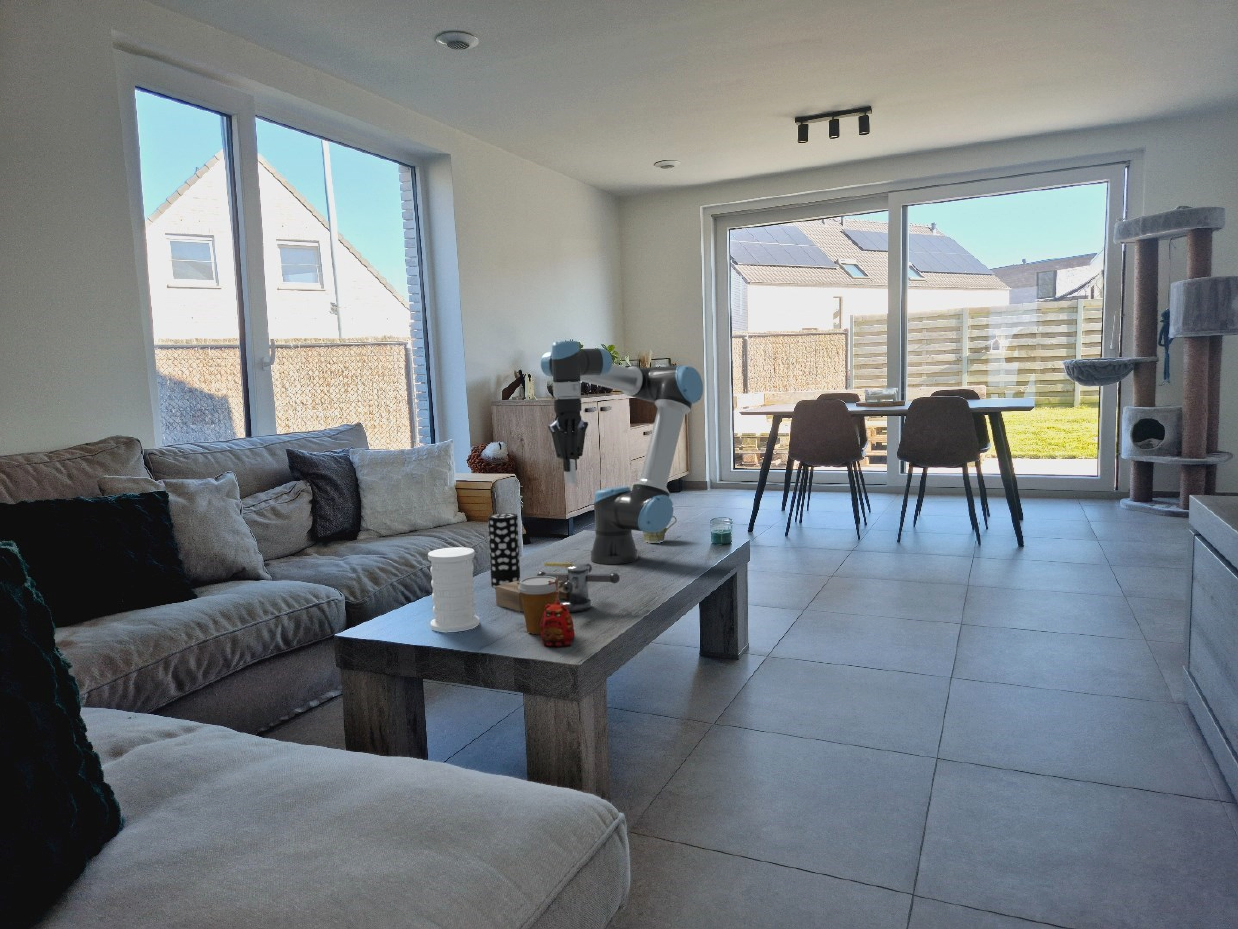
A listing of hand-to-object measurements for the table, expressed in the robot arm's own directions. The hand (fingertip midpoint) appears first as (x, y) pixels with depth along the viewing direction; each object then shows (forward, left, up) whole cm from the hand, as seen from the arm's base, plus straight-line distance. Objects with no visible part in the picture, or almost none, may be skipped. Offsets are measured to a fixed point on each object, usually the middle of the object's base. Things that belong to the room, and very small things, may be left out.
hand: (570, 482), depth 224 cm
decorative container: (+43, +6, -30) cm, 52 cm away
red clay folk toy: (+35, +35, -30) cm, 58 cm away
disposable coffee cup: (+32, +25, -29) cm, 50 cm away
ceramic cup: (-58, -22, -30) cm, 69 cm away
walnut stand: (+17, +7, -29) cm, 34 cm away
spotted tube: (+12, -16, -29) cm, 36 cm away
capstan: (+14, +18, -29) cm, 37 cm away
